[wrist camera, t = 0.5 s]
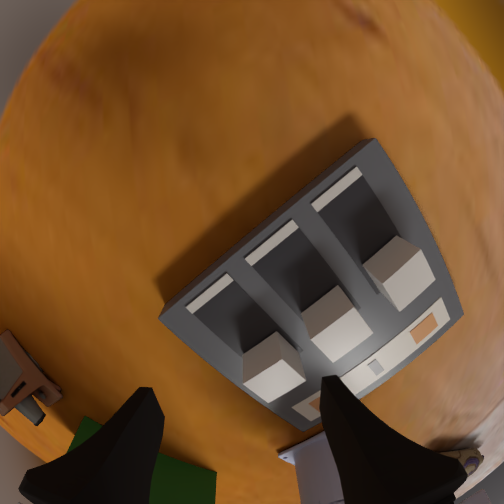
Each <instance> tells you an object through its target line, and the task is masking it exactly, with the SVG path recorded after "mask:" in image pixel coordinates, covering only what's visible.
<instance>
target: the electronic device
mask: <svg viewBox="0 0 504 504" xmlns="http://www.w3.org/2000/svg"><path fill="white" fill-rule="evenodd" d="M41 371H42V369H41V368H40V367H39V364H38V363H37V362H36V361H35V360H34V359H33V358H32V357H31V355H30V354H29V353H28V352H26V351H25V350H24V349H23V348H22V347H21V346H20V345H19V343H18V342H17V340H16V338H15V337H14V336H13V335H12V333H11V332H10V331H9V330H6V331H5V332H3V333H2V334H1V335H0V414H1V415H2V416H5V415H6V414H7V413H8V412H10V411H11V410H12V409H13V408H14V407H15V408H16V409H17V410H18V411H20V412H21V413H22V414H23V415H24V416H26V417H27V418H28V419H29V420H30V421H31V422H33V424H34V425H35V426H38V425H39V424H40V423H41V422H42V421H43V419H44V417H45V416H46V414H45V413H44V412H43V411H42V409H41V408H40V407H39V405H38V404H37V402H36V401H35V400H34V398H33V397H32V395H34V396H35V397H36V398H38V399H39V400H40V401H41V402H43V403H44V404H45V405H46V406H47V407H49V406H51V405H52V404H54V403H55V402H56V401H58V400H60V399H61V398H63V396H62V394H61V393H60V392H59V391H61V388H60V387H59V386H58V385H56V384H54V383H53V382H51V381H50V380H48V379H47V378H46V377H45V376H44V374H43V373H44V372H43V371H42V372H43V373H42V372H41Z"/></svg>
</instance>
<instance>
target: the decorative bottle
mask: <svg viewBox="0 0 504 504" xmlns="http://www.w3.org/2000/svg"><path fill="white" fill-rule="evenodd" d="M440 454H443V455H446V456H449V457H453V458H456V459H458V460H459V461H460V463H461V464H462V465H463V467H464V469H465V471H466V472H467V474H468V477H469V476H470V475H472V474H473V473H474V472H475V471H476V470H477V468H478V467H479V465H480V464H481V463H482V462H483V460H484V456H483V455H481V454H480V452H479V450H477V449H475V448H471V449H470V448H469V449H463V450H458V451H450V452H441V453H440Z"/></svg>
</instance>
